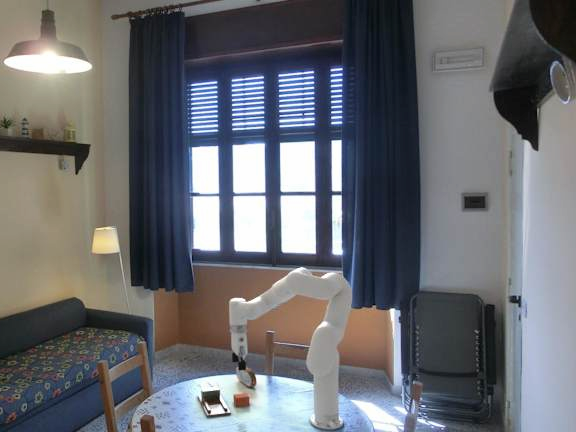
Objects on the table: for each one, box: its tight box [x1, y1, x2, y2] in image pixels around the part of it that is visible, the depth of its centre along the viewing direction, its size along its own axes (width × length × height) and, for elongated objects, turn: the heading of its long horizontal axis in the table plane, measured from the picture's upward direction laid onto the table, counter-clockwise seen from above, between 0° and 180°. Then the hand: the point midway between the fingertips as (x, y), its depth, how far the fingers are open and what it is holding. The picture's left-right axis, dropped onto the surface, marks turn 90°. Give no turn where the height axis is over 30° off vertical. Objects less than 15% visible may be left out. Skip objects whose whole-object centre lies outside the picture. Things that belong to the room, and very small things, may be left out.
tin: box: [235, 365, 257, 389], centre depth 238 cm, size 15×3×8 cm, turn 25°
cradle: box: [197, 386, 232, 418], centre depth 216 cm, size 20×10×5 cm, turn 11°
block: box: [233, 392, 250, 408], centre depth 217 cm, size 6×4×4 cm, turn 101°
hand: (239, 365), depth 217 cm, fingers open, 9 cm apart
